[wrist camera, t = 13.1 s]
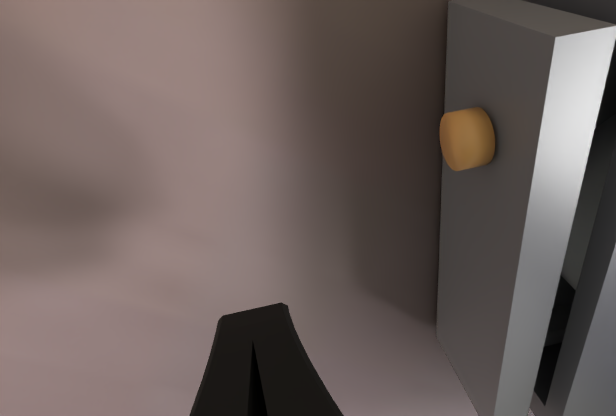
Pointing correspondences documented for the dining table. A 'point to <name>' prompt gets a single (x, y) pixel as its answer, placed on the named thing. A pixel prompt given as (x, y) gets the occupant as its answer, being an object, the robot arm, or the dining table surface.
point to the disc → (589, 199)
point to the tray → (513, 185)
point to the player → (586, 298)
